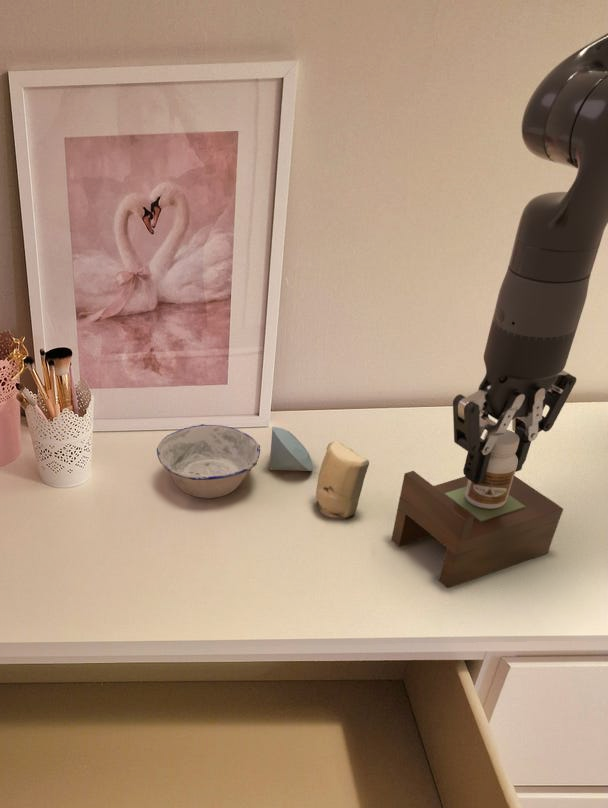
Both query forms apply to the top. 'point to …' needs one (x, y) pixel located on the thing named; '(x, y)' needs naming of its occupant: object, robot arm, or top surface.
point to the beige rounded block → (340, 481)
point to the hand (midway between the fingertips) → (492, 473)
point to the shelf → (475, 526)
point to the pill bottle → (496, 474)
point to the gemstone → (288, 452)
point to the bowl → (208, 459)
